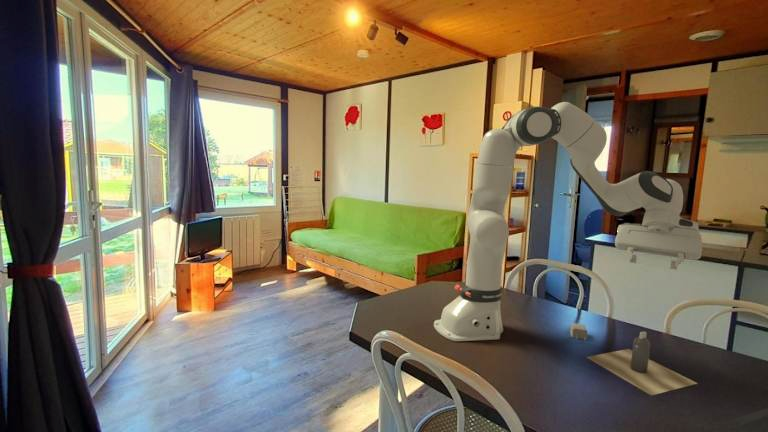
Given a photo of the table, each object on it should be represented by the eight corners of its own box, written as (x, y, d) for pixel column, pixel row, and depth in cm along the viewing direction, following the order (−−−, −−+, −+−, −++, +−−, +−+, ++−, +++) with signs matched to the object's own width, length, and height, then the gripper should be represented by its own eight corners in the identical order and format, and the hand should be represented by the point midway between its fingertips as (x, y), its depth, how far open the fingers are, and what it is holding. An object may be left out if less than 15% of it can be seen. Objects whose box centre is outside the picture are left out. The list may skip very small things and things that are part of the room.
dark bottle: (640, 374, 95) (645, 336, 93) (627, 367, 98) (631, 330, 97) (650, 371, 96) (655, 334, 95) (637, 364, 99) (641, 328, 98)
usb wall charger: (584, 336, 118) (585, 324, 117) (588, 346, 111) (589, 333, 111) (569, 334, 119) (571, 322, 118) (573, 344, 113) (574, 331, 112)
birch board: (650, 399, 86) (651, 395, 86) (585, 360, 103) (586, 357, 103) (697, 387, 92) (697, 383, 91) (628, 352, 108) (628, 348, 108)
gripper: (618, 216, 115) (609, 252, 109) (705, 223, 102) (700, 265, 96) (619, 228, 119) (610, 264, 113) (703, 237, 106) (698, 278, 100)
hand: (652, 264), depth 104 cm, fingers open, 8 cm apart
